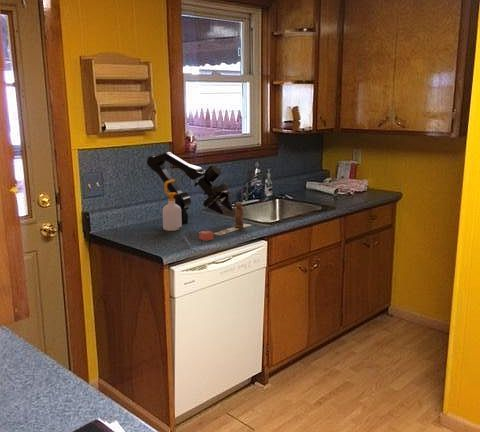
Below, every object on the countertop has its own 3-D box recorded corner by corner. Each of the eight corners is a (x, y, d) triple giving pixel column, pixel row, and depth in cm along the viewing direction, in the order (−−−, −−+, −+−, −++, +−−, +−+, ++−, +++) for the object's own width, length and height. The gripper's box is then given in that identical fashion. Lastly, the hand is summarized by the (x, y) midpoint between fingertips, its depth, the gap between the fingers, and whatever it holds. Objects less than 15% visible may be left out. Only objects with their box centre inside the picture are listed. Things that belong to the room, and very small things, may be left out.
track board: (224, 239, 238) (224, 236, 237) (206, 235, 244) (206, 232, 244) (257, 228, 258) (257, 225, 258) (240, 225, 264) (240, 222, 264)
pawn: (237, 228, 252) (237, 203, 249) (232, 226, 255) (232, 201, 253) (245, 227, 254) (245, 202, 251) (240, 225, 258) (240, 201, 255)
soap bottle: (183, 230, 255) (182, 180, 249) (165, 231, 251) (163, 181, 246) (179, 225, 263) (177, 177, 257) (161, 227, 260) (159, 178, 254)
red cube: (204, 243, 231) (204, 234, 230) (199, 241, 234) (199, 231, 233) (213, 242, 233) (213, 232, 232) (207, 240, 237) (207, 230, 236)
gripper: (208, 180, 246) (229, 205, 244) (227, 175, 263) (246, 198, 260) (194, 195, 252) (214, 219, 249) (213, 189, 268) (232, 212, 265)
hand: (227, 212), depth 256 cm, fingers open, 9 cm apart
